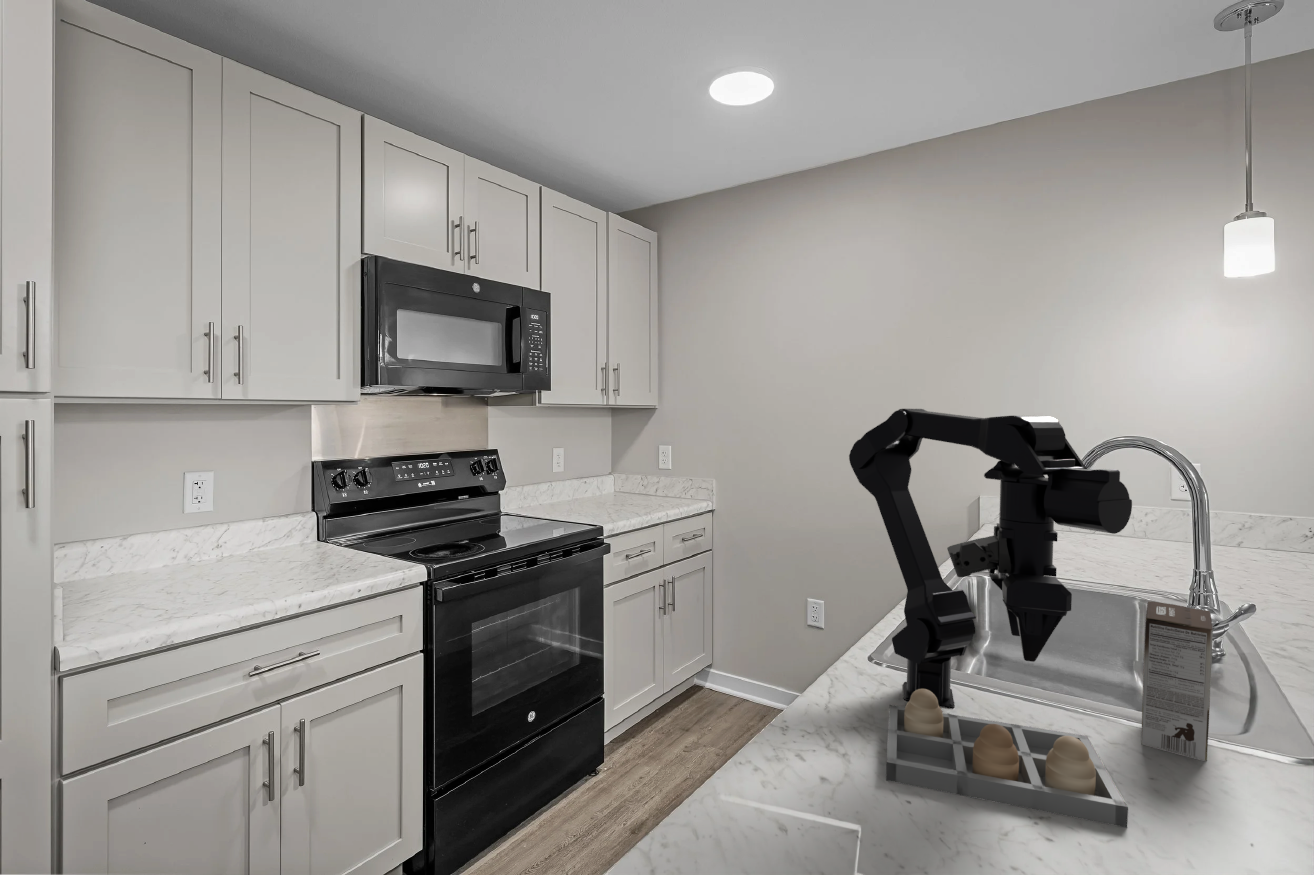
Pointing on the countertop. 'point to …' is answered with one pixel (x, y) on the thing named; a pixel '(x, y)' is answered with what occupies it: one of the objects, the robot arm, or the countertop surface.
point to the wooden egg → (995, 754)
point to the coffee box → (1177, 679)
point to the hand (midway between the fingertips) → (1022, 647)
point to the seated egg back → (923, 714)
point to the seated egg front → (1070, 767)
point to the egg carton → (951, 772)
